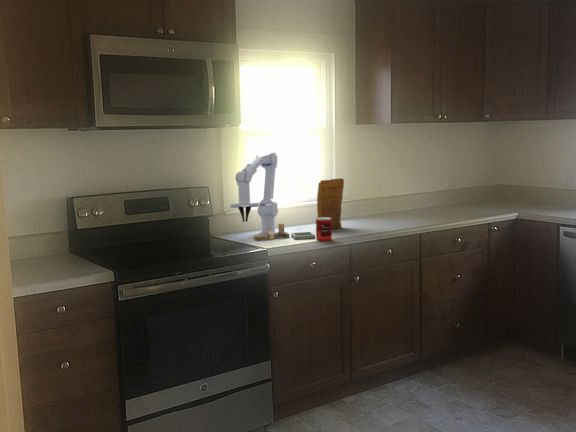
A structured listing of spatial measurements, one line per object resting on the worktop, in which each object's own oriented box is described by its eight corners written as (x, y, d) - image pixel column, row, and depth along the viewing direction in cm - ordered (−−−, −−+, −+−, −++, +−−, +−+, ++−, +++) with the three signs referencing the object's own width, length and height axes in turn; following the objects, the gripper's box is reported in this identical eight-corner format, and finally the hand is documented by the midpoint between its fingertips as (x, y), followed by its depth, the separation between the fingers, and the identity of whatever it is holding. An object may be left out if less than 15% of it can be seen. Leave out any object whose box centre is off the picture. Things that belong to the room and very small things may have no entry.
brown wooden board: (254, 238, 336) (253, 234, 336) (265, 238, 337) (265, 233, 337) (255, 241, 327) (255, 236, 327) (267, 240, 328) (267, 236, 328)
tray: (291, 236, 339) (291, 232, 338) (310, 235, 340) (310, 231, 340) (295, 239, 327) (295, 236, 326) (315, 238, 328) (315, 235, 328)
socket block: (274, 236, 340) (273, 232, 339) (287, 235, 341) (287, 232, 340) (275, 238, 333) (275, 234, 332) (289, 237, 334) (289, 233, 334)
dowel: (278, 236, 338) (277, 223, 337) (284, 236, 338) (283, 223, 338) (279, 237, 335) (278, 224, 334) (284, 237, 335) (284, 223, 335)
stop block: (267, 237, 337) (267, 231, 336) (272, 237, 337) (272, 231, 337) (269, 239, 329) (269, 233, 328) (274, 239, 329) (274, 233, 329)
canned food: (322, 238, 328) (321, 216, 327) (335, 239, 323) (334, 217, 322) (313, 240, 322) (312, 218, 321) (326, 241, 317) (325, 219, 316)
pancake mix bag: (348, 227, 364) (347, 178, 361) (320, 231, 354) (318, 180, 351) (341, 226, 370) (340, 177, 366) (313, 229, 360) (312, 179, 357)
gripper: (230, 196, 323) (231, 223, 325) (259, 195, 325) (260, 221, 327) (229, 195, 330) (230, 221, 332) (257, 193, 332) (258, 220, 334)
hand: (245, 221), depth 330 cm, fingers closed
